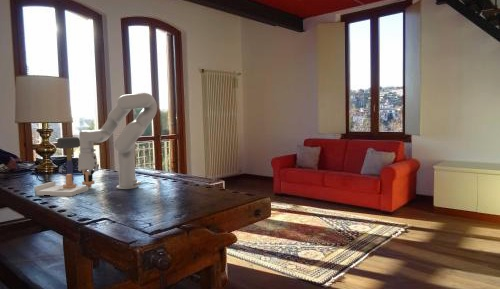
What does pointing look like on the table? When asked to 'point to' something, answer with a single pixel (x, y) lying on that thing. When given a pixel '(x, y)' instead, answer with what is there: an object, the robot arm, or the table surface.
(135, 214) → the table surface
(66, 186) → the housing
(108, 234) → the table surface
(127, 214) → the table surface
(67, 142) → the rubber mallet
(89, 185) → the dome with square post
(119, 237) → the table surface
